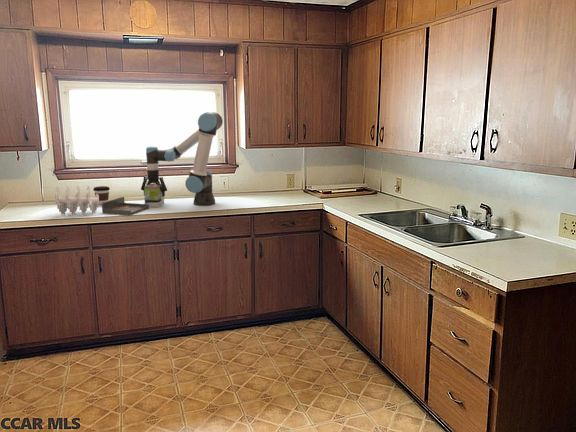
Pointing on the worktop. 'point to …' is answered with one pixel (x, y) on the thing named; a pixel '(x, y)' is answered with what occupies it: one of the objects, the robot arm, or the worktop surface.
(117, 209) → the tray
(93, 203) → the grey translucent row part
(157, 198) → the tea box
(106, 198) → the coffee cup
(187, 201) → the worktop surface
